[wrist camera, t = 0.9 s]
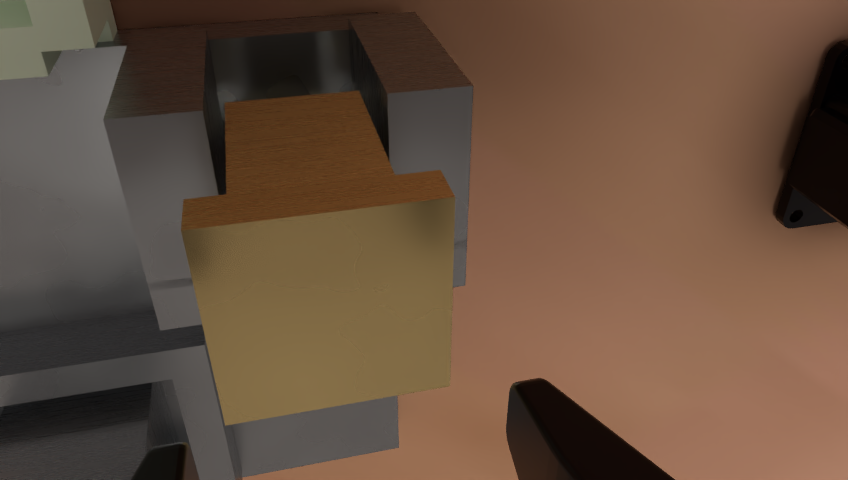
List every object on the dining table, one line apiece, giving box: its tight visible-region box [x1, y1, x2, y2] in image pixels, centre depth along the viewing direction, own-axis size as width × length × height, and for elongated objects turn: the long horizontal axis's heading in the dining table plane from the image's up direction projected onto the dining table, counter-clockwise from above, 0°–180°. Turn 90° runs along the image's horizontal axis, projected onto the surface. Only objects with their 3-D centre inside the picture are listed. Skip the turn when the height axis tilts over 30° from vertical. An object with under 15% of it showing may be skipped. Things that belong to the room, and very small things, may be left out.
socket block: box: [0, 12, 473, 480], centre depth 18 cm, size 14×15×6 cm
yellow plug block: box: [181, 91, 455, 426], centre depth 12 cm, size 4×4×5 cm
